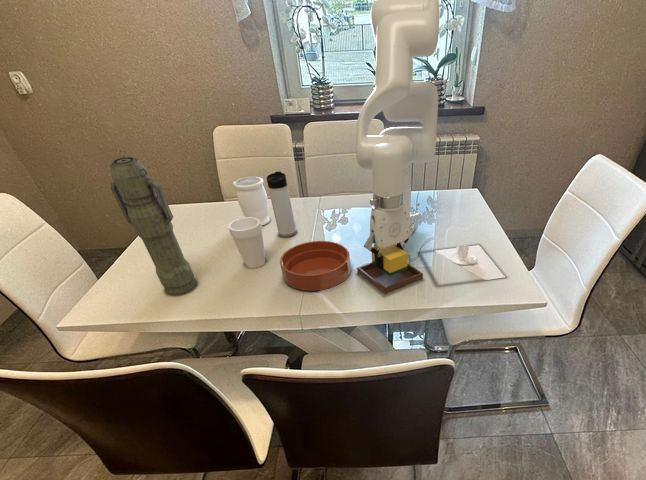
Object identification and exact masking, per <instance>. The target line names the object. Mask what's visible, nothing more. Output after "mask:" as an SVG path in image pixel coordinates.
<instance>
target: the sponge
mask: <svg viewBox="0 0 646 480" xmlns="http://www.w3.org/2000/svg"><path fill="white" fill-rule="evenodd" d="M395 245H396V244H394V245H392V246H389V247H386V248H383V252H382V256H383V267H384V268H383V269H382V271H384V272H385V273H386V274H388V275H389V276H392V275H394V274H397V273H399V272H402V271H405V270H407V266H408V264H409V263H408V262H409V261H408V260H409V253H408V252H407V251H405V250H404V249H403V250H402V249H400V248H399V247H397V246H395ZM378 249H379V247H378ZM377 251H378V250H377ZM371 262H372V263H373V264H374V265H375V255H374V254H373V253H372V252H371ZM375 266H376V265H375ZM379 269H380V268H379Z"/></svg>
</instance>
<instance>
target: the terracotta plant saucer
mask: <svg viewBox="0 0 646 480" xmlns="http://www.w3.org/2000/svg"><path fill="white" fill-rule="evenodd" d="M279 265H280V268H281V274H282V277H283V281H284V282H285V283H286V284H287V285H288V286H289V287H291V288H293V289H297V290H301V291H312V292H313V291H323V290H327V289H331V288H334V287H336V286H339V285H340V284H341V283H343V282H345V281H346V279H348V278H349V276H350V275H351V273H352V266H351V256H350V251H349V249H348V248H347V247H345V246H344V245H343V244H341V243H339V242H335V241H330V240H312V241H308V242H307V241H306V242H303V243H299V244H297V245H294V246H293V247H292V246H291V248H289V249H288V250H285V251H284V253H282V255H281V256H280V258H279Z"/></svg>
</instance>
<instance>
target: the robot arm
mask: <svg viewBox="0 0 646 480" xmlns="http://www.w3.org/2000/svg"><path fill="white" fill-rule="evenodd" d="M369 16H370V17H369V18H370V25H371V26H370V27H371V31H372V34H373V39H374V41H375V75H374V76H375V77H374V79H375V80H374V81H375V84H374V90H373V91H372V92H371V94H370V95H369V96H368V97H367V99H366V100H365V102H364V104H363V105H362V107H361V109H360V112H359V114H358V117H357V122H356V135H355V141H356V142H355V144H356V145H355V155H356V161H357V164H358V165H359V167H360V168H361V169H363V170H371V171H372V199H370V200H369V204H370V206H371V210H370V217H369V218H370V219H369V236H368V238H367V239H366V241H365V243H364V244H363V248H365V249H366V250H368V251H369V252H371V254H372V253H373V254H374V255H375V265H376V266H377V267H378V268H380V269H381V270H382V269H383V268H384V267H383V256H382V252H383V248H386V247H389V246H392V245H395V246H397V247H399V248H400V249H402V250H403V251H404V249H406V244H407V242H408V241H409V239H410V237H411V236H412V235H413V233H414V231H415V224H414V222H415V221H417V220H420V219H422V213H420V212H418V213H414V212H411V208H412V207H411V206H412V176H411V172H410V170H409V169H408V167H409V165H410V164H421V163H422V164H425V163H430V162H432V161H433V159H434V158H435V155H436V150H437V134H438V116H439V115H438V114H439V93H438V88H437V86H436V84H434V83H432V82H430V81H414V79H413V75H414V74H413V73H414V72H413V71H414V69H413V68H414V60H413V58H425V57H427V58H428V57H431V56H433V55H434V54H435V51H436V49H437V47H438V42H439V34H440V4H439V0H375V1H374V2H373V3H372V4H371V6H370V13H369ZM381 112H382V114H383V116H384V119H385V120H386V121H388V122H393V123H407V122H408V123H410V122H419V124H421V126H397V127H394V126H393V127H389V128H385V129H383V130H382V131H381V132H380V133H379V135H369V128H370V125H371V123H372V121H373V120H374V118H375V117H377V116H378V115H379V113H381ZM378 247H379V249H378ZM377 250H378V251H377Z"/></svg>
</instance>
